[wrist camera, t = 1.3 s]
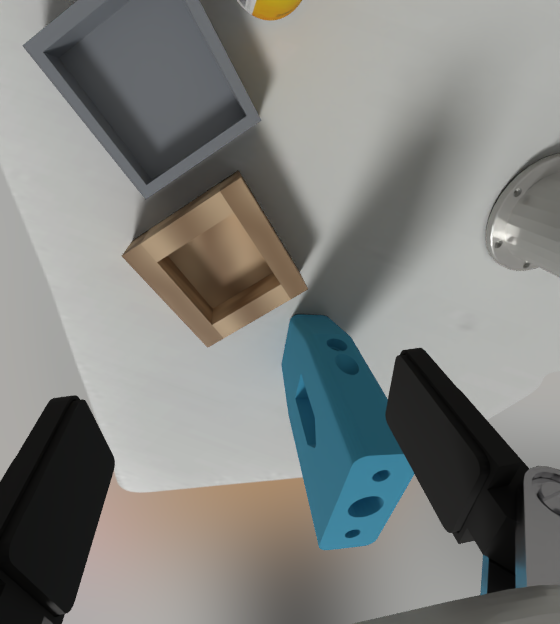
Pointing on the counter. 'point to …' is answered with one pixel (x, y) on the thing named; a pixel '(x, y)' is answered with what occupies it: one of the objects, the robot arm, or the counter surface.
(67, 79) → the tray
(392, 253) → the counter surface
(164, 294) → the shallow wooden box
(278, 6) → the beer can
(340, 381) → the block
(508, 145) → the counter surface
